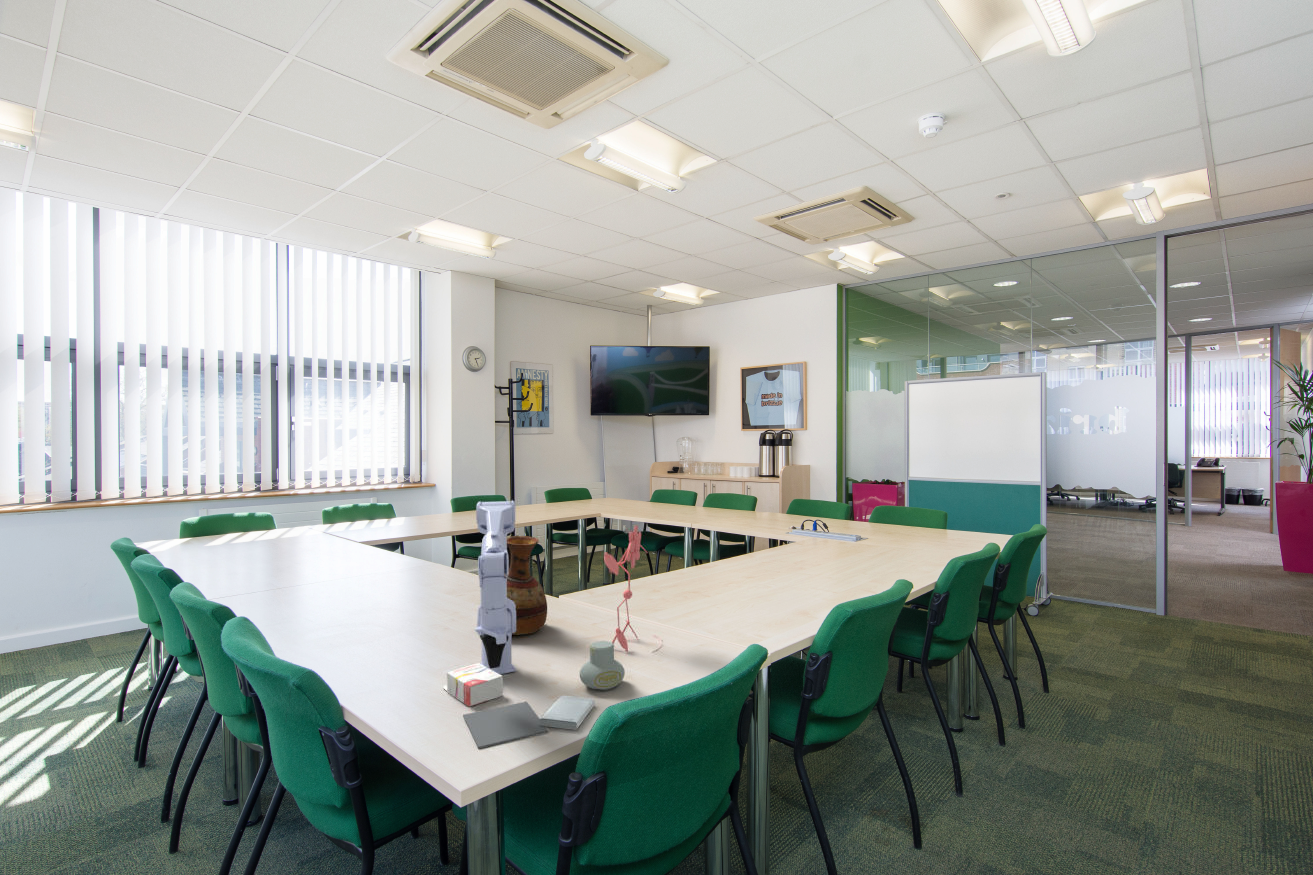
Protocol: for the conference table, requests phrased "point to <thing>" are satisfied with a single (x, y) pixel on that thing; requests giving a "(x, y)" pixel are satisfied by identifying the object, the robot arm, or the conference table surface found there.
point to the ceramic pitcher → (524, 586)
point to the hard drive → (567, 712)
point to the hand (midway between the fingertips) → (494, 666)
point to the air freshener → (602, 667)
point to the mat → (503, 724)
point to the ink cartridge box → (474, 684)
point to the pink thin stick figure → (613, 567)
